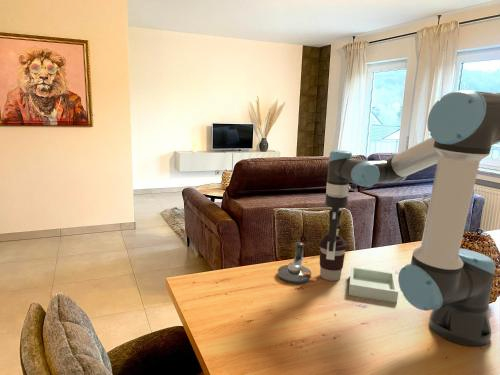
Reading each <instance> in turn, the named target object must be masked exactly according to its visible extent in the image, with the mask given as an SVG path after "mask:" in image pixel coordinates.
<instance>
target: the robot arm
mask: <svg viewBox="0 0 500 375" xmlns="http://www.w3.org/2000/svg"><path fill="white" fill-rule="evenodd" d="M426 126H427V130H428V131H429V136H430V137H429V138H428V139H425V140H423V141H421V142H420V143H416V144H415V145H413V146H411V147H409V148H407V149H405V150H404V151H401V152H400V153H397V154H395V155H393V156H392V157H389V158H387V159H381V160H380V159H379V160H358V159H353V153H352V152H351V151H348V150H341V149H339V150H338V149H337V150H331V151H330V153H329V157H328V158H329V159H328V163H327V164H328V165H327V177H326V178H327V179H326V191H325V193H326V195H325V201H324V203H325V206H327V207H328V208H331V209H329V215H328V216H329V218H328V223H329V225H328V227H329V228H328V239H326V241H327V242H328V244H327V255H326V259H330V260H334V257H335V246H336V236H339V230H340V229H341V226H340V219H341V217H342V210H341V209H345V208H347V207H348V200H349V198H348V195H349V190H351V186H350V183H352V184H354V185H357V186H359V187H366V188H371V187H373V186H374V185H376V184H386V183H387V184H388V183H389V184H390V183H393V184H395V183H399V182H403V181H404V180H406V179H407V177H408V176H410V175H413V174H415V173H418V172H419V171H422V170H424V169H426V168H429V167H431V166H434V165H436V167H435V168H436V169H435V174H434V178H433V184H432V189H431V193H430V199H429V203H428V209H427V214H426V219H425V224H424V229H423V235H422V238H421V243H420V244H421V245H420V246H419V247H417V248H415V249H414V250H413V251H412V256H411V262H410V263H409V264H408V263H407V264H406V265H404V267H401V268H400V270H399V272H398V284H399V288H400V291H401V293H402V295H403V297H404V298H405V300H406V301H407V302H408V303H409V304H410V305H412V307H414V308H415V309H417V310H420V311H431V313H430V316H429V322H428V323H429V326H430V328H431V330H433V331H434V332H435V333H436V334H437V335H439V336H441V337H442V338H443V339H445V340H448V341H450V342H452V343H456V344H458V345H459V344H460V345H462V346H467V347H482V346H486V345H487V344H489V343H490V342H491V337H492V327H491V322H490V317H489V314H488V311H489V304H490V298H491V294H492V288H493V282H494V278H495V275H496V273H495V271H496V270H495V269H496V263H495V261H494V260H493V259H492V258H491V257H489V256H487V255H485V254H483V253H482V252H481V253H480V252H477V251H475V250H471V249H466V248H461V245H462V240H463V236H464V232H465V228H466V223H467V220H468V219H467V218H468V214H469V211H470V205H471V203H472V202H471V201H472V198H473V195H474V194H473V193H474V188H475V184H476V180H477V177H478V176H477V175H478V172H479V167H480V162H481V161H482V160H483V159H486V158H487V157H488V156H490V154H491V150H492V145H493V146H494V145H496V144H499V143H500V92H487V91H486V92H485V91H477V90H471V89H469V90H468V89H467V90H456V91H450V92H447V93H446V94H445V95H443V96H441V98H439V99H438V100H436V102H435V103H434V104H433V106H432V107H431V109H430V111H429V113H428V116H427V125H426ZM332 238H334V239H332Z"/></svg>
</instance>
